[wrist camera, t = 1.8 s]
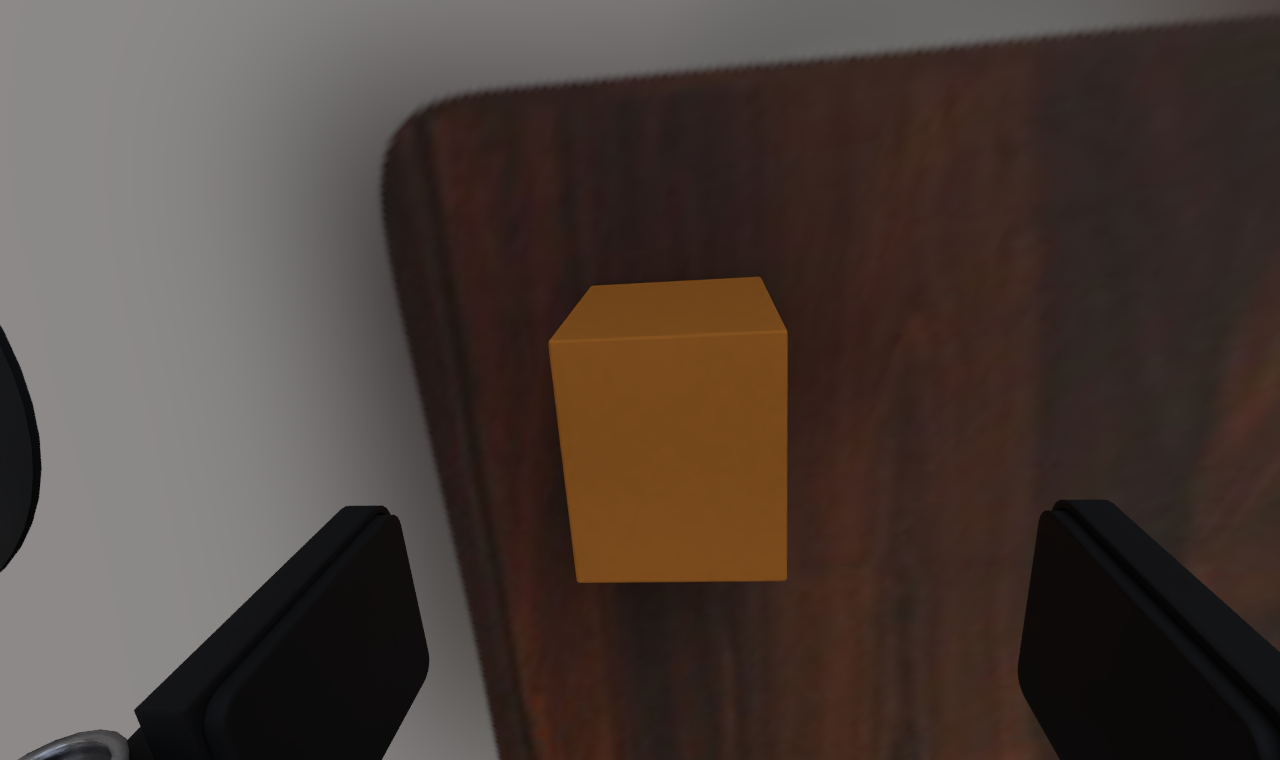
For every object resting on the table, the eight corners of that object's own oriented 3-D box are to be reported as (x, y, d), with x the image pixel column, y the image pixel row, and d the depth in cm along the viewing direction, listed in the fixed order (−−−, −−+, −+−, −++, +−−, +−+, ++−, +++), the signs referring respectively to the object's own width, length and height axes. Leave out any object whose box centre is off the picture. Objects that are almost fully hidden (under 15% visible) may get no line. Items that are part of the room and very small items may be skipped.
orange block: (590, 285, 18) (547, 341, 13) (761, 276, 17) (788, 330, 12) (608, 470, 20) (576, 583, 15) (763, 465, 19) (787, 582, 14)
